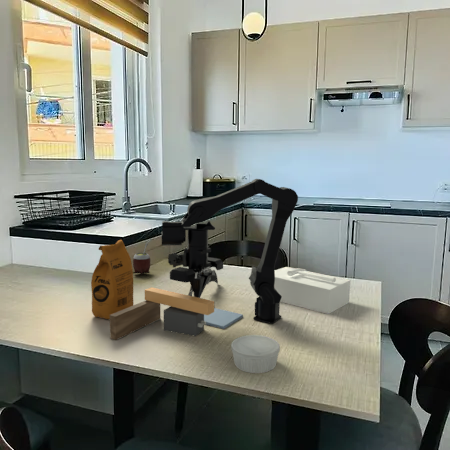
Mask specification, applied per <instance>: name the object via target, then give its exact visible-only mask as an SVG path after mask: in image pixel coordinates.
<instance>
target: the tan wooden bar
mask: <svg viewBox="0 0 450 450" xmlns="http://www.w3.org/2000/svg"><path fill="white" fill-rule="evenodd" d="M193 296H194V295H192V296H189V295H188V294H183V293H180V292H176V291H175V292H174V291H170V290H166V289H161V288H157V287H152V286H151V287H148V288H146V289H144V301H146V300H147V301H152V302H156V303H160V305H164V306H168V307H170V306H172V307H176V308H180V309H184V310H188V311H192V312H196V313H200V314H205V315H209V314H211V313H213V312H214V308H215V301H214V300H210V299H205V298H202V297H200V298H198V297H193Z"/></svg>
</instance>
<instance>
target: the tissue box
mask: <svg viewBox="0 0 450 450" xmlns="http://www.w3.org/2000/svg"><path fill="white" fill-rule="evenodd" d="M274 270H275V284H274V288H275V289H276V290H277V292H278V293H279V294H280V295H281V296H282V297H281V300H280V302H281V303H285V304H287V305H288V304H289V305H292V306H296V307H301V308H304V309H308V310H311V311H315V312H318V313H323V314H327V315H329V314H331V313H333V312H335V311H336V310H338V309H340V308H342V307H343V306H345V305H347V304H348V303H350V293H351V292H350V291H351V290H350V289H351V279H346V278H342V277H339V276H333V275H328V274H323V273H318V272H315V271H314V272H312V271H308V270H307V269H304V268H299V267H298V268H297V267H296V268H294V267H290V266H285V267H281V268H278V269H274Z"/></svg>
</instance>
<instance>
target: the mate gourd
mask: <svg viewBox="0 0 450 450" xmlns="http://www.w3.org/2000/svg"><path fill="white" fill-rule="evenodd" d="M150 241H152V239H149V240H148V241H146V242H145V245H144V249H143V252H137V253H135V254H134V255H133V258H132V268H133V270H134V271H133V274H140V276H143V274H150V269H151V268H150V267H151V256H150V255H149V254H148V253H147V252H146V249H147V246H148V244H149V242H150Z"/></svg>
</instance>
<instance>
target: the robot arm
mask: <svg viewBox="0 0 450 450" xmlns="http://www.w3.org/2000/svg"><path fill="white" fill-rule="evenodd" d="M257 195H262V196H265V197H267V198H269V199H271V220H270V223H269V227H268V231H267V235H266V238H265V242H264V247H263V251H262V254H261V259H260V261H259V263H258V265H257V266H253V265H252V266H251V272H250V275H249V277H248V279H249V282H250V283H249V285H250V286H251V289H253V291H254V293H255V294H256V295H257V296H258V297H256V299H255V300H256V301H255V302H254V316H253V320H255V321H259V322H264V323H268V324H275V323H276V322H278V321H279V320H280V319H282V315H280V307H281V303H280V300H281V297H282V296H281V295H280V294H279V293H278V292H277V290H276V289H275V288H274V284H275V270H276V269H275V267H276V262H277V260H278V256H279V251H280V248H281V244H282V239H283V237H284V232H285V229H286V224H287V222H288V219H289V218H290V217H291V215H292V214H293V213H294V211H295V209H296V206H297V204H298V202H299V201H298V200H299V196H298V194H297V192H296V190H294V189H292V188H289V187H285V186H281V187H278V186H276V185H273V184H271V183H268V182H267V181H265V180H264V179H260V178H255V179H252V180H251V181H249V182H247V183H245V184H242V185H240V186H237V187H235V188H232V189H230V190H228V191H225V192H223V193H219V194H217V195H216V196H209V197H204V198H199V199H195V200H192V201H191V202H189V204H188V206H187V212H186V213H185V215H184V216H183V217H182V218H181V220H180V221H168V220H163V221H162V222H161V225H162V226H161V229H162V230H161V246H162V247H163V246H183V244H184V243H186V241H187V247H186V248H184V250H183V253H181V254H178V253H177V252H174V253H170V254H168V256H167V259H168V261H167V263H168V264H169V266H172V267H173V269H171V270H169V280H172V281H176V282H179V283H180V282H181V283H185V284H186V283H189V284H190V287H192V290H193V296H194V295H195V297H198V298H201V296H202V294H203V292H204V291H205V288H206V286H207V285H208V284H207V282H208V281H209V279H210V277H211V276H212V275H213V274H212V273H209V270H208V269H209V268H210V269H212V268H215V269H216V270H217V271H221V270H223V269H224V261H223V260H222V259H221V258H217V257H209V253H211V252H212V248H211V247H209V231H215V229H216V227H215V225H213V224H212V223H211V221H210V220H209V219H210V218H212V217H213V216H215V215H216V214H218V213H219V211H222V210H223V209H225V208H228V207H230V206H232V205H235V204H237V203H240V202H243V201H245V200H247V199H250V198H251V197H254V196H257ZM205 221H206V222H205ZM186 232H187V233H186ZM186 235H187V237H186ZM186 238H187V240H186Z"/></svg>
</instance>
